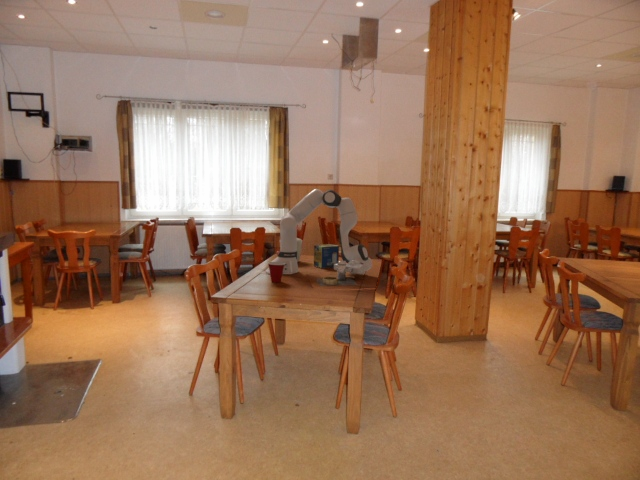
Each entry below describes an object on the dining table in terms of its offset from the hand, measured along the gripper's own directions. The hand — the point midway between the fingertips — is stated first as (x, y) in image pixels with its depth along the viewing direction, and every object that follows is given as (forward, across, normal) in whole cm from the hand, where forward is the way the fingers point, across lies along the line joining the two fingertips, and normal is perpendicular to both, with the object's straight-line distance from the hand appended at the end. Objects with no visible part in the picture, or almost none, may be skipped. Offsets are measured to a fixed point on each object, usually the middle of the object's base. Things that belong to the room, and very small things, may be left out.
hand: (340, 270), depth 279 cm
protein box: (-32, -39, +8) cm, 51 cm away
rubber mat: (+5, +1, +8) cm, 9 cm away
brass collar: (+10, 0, +8) cm, 13 cm away
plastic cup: (+27, -29, +8) cm, 40 cm away
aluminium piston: (-1, 0, +7) cm, 7 cm away
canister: (-26, -69, +8) cm, 74 cm away
